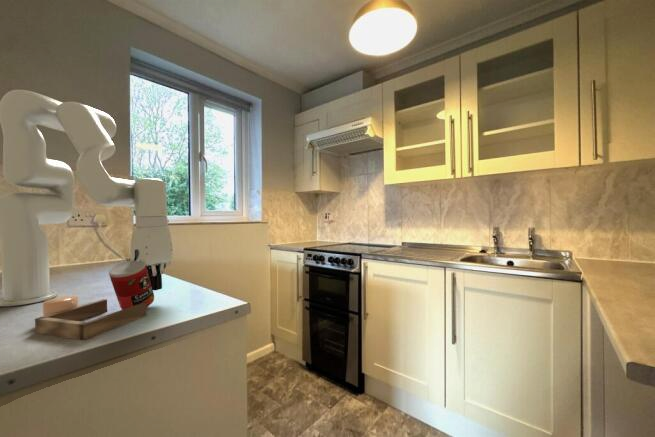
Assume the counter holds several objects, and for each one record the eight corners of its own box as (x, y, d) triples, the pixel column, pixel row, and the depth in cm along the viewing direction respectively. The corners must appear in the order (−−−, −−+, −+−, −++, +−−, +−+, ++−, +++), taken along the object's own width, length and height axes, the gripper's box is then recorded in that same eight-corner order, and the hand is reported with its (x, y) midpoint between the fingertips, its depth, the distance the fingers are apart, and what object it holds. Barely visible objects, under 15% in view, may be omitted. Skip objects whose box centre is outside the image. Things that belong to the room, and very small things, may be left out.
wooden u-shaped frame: (35, 332, 60) (35, 318, 60) (103, 310, 73) (103, 299, 73) (83, 340, 56) (83, 325, 56) (146, 315, 70) (146, 303, 70)
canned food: (139, 314, 71) (127, 276, 67) (112, 311, 72) (99, 273, 69) (162, 296, 78) (152, 260, 74) (137, 293, 79) (126, 258, 76)
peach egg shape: (36, 324, 65) (36, 302, 65) (67, 315, 71) (66, 295, 71) (55, 326, 63) (54, 304, 63) (84, 317, 69) (84, 296, 69)
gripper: (162, 222, 87) (165, 282, 87) (115, 225, 73) (118, 296, 73) (183, 222, 85) (186, 283, 85) (138, 224, 71) (142, 297, 71)
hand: (155, 289), depth 79 cm, fingers closed
